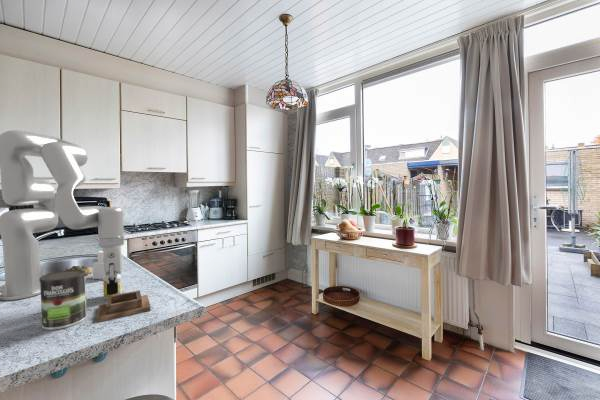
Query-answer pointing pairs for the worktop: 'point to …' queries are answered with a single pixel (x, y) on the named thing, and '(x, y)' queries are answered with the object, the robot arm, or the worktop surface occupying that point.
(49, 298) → the coffee can
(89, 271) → the bread roll
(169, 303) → the worktop surface
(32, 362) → the worktop surface
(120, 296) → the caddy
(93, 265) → the medicine bottle
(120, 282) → the supplement bottle
